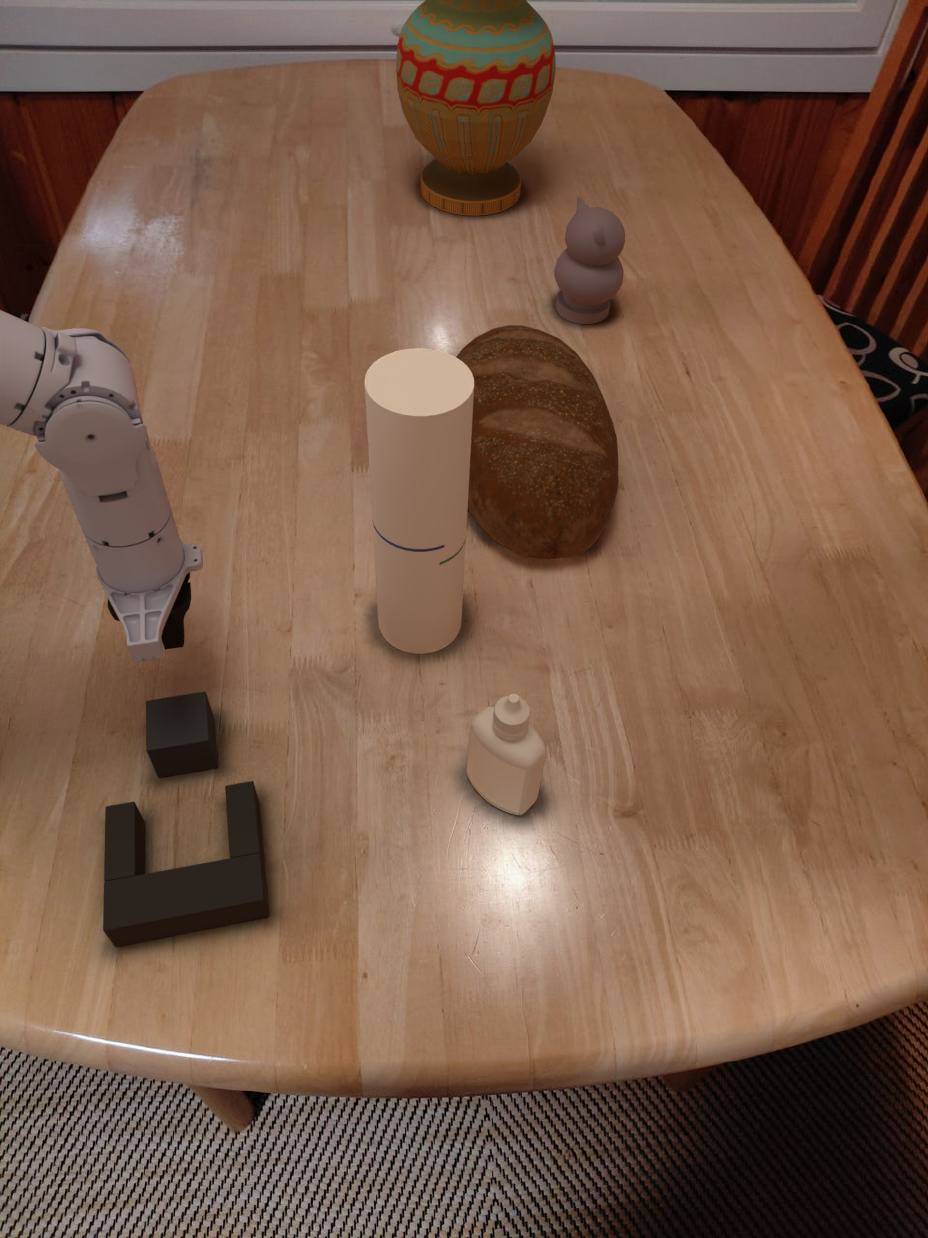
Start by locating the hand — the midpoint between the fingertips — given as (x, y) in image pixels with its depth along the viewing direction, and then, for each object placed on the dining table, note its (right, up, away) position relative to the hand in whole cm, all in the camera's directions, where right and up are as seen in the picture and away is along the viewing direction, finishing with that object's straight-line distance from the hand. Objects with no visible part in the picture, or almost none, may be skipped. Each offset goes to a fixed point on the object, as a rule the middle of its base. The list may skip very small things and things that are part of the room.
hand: (170, 642), depth 71 cm
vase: (+23, +61, +57) cm, 86 cm away
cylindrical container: (+19, +2, +9) cm, 21 cm away
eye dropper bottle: (+25, -11, -1) cm, 28 cm away
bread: (+28, +17, +22) cm, 40 cm away
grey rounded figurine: (+37, +39, +40) cm, 66 cm away
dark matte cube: (+1, -8, 0) cm, 8 cm away
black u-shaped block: (+3, -16, -6) cm, 17 cm away
